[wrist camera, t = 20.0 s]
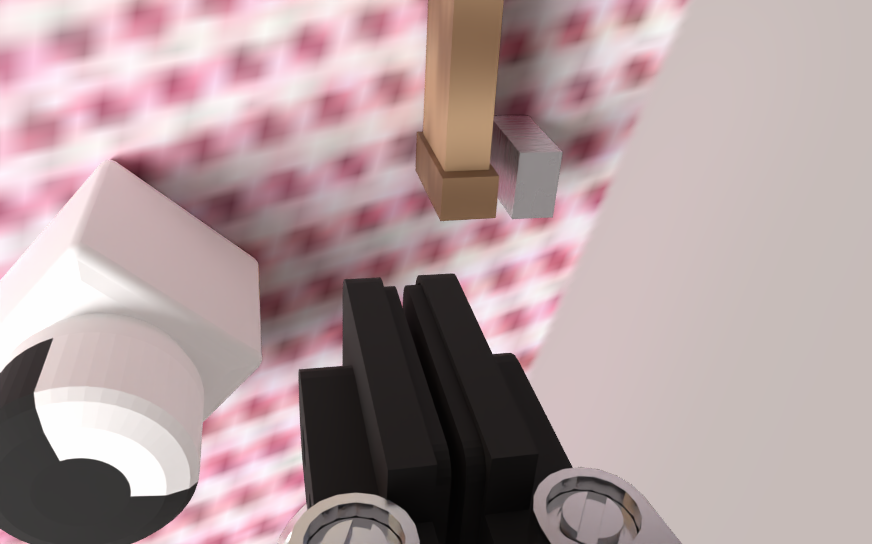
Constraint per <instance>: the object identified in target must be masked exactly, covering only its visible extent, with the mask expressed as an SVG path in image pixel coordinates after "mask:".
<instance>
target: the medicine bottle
mask: <svg viewBox="0 0 872 544" xmlns="http://www.w3.org/2000/svg"><path fill="white" fill-rule="evenodd" d="M261 362H262V342H261V316H260V291H259V266H258V262H257V261H256V260H255V258H253V257H252V256H251V255H249V254H248V253H246V252H245V251H243V250H242V249H240V248H239V247H238V246H236V245H235V244H233V243H232V242H230V241H229V240H228V239H226V238H225V237H223V236H222V235H220V234H219V233H218V232H216V231H215V230H213V229H212V228H210V227H209V226H207V225H206V224H205V223H203V222H202V221H200V220H199V219H197V218H196V217H195V216H193V215H192V214H190V213H189V212H187V211H186V210H185V209H183V208H182V207H180V206H179V205H177V204H176V203H174V202H173V201H172V200H170V199H169V198H167V197H166V196H164V195H163V194H162V193H160V192H159V191H157V190H156V189H154V188H153V187H152V186H150V185H149V184H147V183H146V182H144V181H143V180H142V179H140V178H139V177H137V176H136V175H134V174H133V173H131V172H130V171H129V170H127V169H126V168H124V167H123V166H121V165H120V164H119V163H117V162H116V161H113V160H106V161H104V162H102V163H101V164H100V165H99V166H98V167H97V168H96V170H95V171H94V172H93V173H92V174H91V175H90V177H89V178H88V179H87V180H86V181H85V182H84V184H83V185H82V186H81V187H80V188H79V189H78V191H77V192H76V193H75V194H74V195H73V196H72V198H71V199H70V200H69V201H68V202H67V203H66V205H65V206H64V207H63V208H62V209H61V210H60V212H59V213H58V214H57V215H56V216H55V217H54V219H53V220H52V221H51V222H50V223H49V224H48V225H47V227H46V228H45V229H44V230H43V231H42V232H41V234H40V235H39V236H38V237H37V238H36V239H35V241H34V242H33V243H32V244H31V245H30V246H29V248H28V249H27V250H26V251H25V252H24V253H23V255H22V256H21V257H20V258H19V259H18V260H17V262H16V263H15V264H14V265H13V266H12V267H11V269H10V270H9V271H8V272H7V273H6V274H5V276H4V277H3V278H2V279H1V280H0V529H2V530H3V531H5V532H6V533H8V534H9V535H11V536H13V537H15V538H17V539H19V540H21V541H24V542H27V543H30V544H132V543H134V542H137V541H139V540H141V539H143V538H146V537H147V536H149V535H151V534H153V533H154V532H156V531H158V530H159V529H161V528H163V527H164V526H165V525H167V524H168V523H169V522H171V521H172V520H173V519H174V518H175V517H176V516H178V515H179V514H180V513H181V512H182V511H183V509H184V508H185V507H186V505H187V504H188V503H189V501H190V500H191V498H192V496H193V494H194V492H195V489H196V486H197V483H198V479H199V472H200V457H201V441H202V425H203V422H204V421H205V420H206V419H207V418H208V417H209V416H210V415H211V414H212V413H213V412H214V411H215V410H216V409H217V408H218V407H219V406H220V405H221V404H222V403H223V402H224V401H225V400H226V399H227V398H228V397H229V396H230V395H231V394H232V393H233V392H234V391H235V390H236V389H237V388H238V387H239V386H240V385H241V384H242V383H243V382H244V381H245V380H246V379H247V378H248V377H249V376H250V375H251V374H252V373H253V372H254V371H255V370H256V369H257V368H258V367H259V365H260V364H261Z"/></svg>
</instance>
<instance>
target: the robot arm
mask: <svg viewBox="0 0 872 544" xmlns="http://www.w3.org/2000/svg"><path fill="white" fill-rule="evenodd" d="M299 406H300V429H301V446H302V460H303V471H304V482H305V492H306V504H305V505H304V506H303V507H302V508H301V509H300V510H299V511H298V512H297V513H296V514H295V516H294V517H293V518H292V519H291V520H290V521H289V523H288V524H287V526H286V527H285V529H284V531H283V532H282V534H281V535H280V537H279V540H278V543H277V544H682V543H681V542H680V541H679V539H678V538H677V537H676V536H675V534H674V533H673V532H672V531H671V529H670V528H669V527H668V526H667V525H666V523H665V522H664V521H663V519H662V518H661V517H660V516H659V515H658V513H657V512H656V511H655V509H654V508H653V507H652V506H651V504H650V503H649V502H648V500H647V499H646V498H645V497H644V496H643V495H642V494H641V493H640V492H639V491H638V490H637V489H636V488H635V487H634V486H633V485H632V484H630V483H628V482H626V481H625V480H623V479H621V478H620V477H618V476H617V475H613V474H611V473H607V472H605V471H602V470H599V469H592V468H583V467H578V468H572V465H571V463H570V462H569V460H568V458H567V456H566V454H565V452H564V450H563V448H562V446H561V444H560V442H559V440H558V438H557V436H556V434H555V432H554V430H553V428H552V426H551V424H550V422H549V420H548V418H547V416H546V414H545V412H544V410H543V408H542V406H541V404H540V402H539V401H538V398H537V396H536V394H535V392H534V390H533V389H532V387H531V385H530V383H529V381H528V379H527V377H526V375H525V373H524V371H523V369H522V367H521V365H520V363H519V361H518V359H517V358H516V357H515V355H514V354H512V353H502V354H492V352H491V350H490V348H489V346H488V343H487V341H486V339H485V337H484V335H483V333H482V331H481V328H480V326H479V324H478V322H477V320H476V318H475V316H474V313H473V311H472V309H471V307H470V305H469V303H468V300H467V298H466V296H465V294H464V292H463V290H462V288H461V285H460V283H459V281H458V279H457V277H456V275H455V274H436V275H418V277H417V280H416V285H407V286H405V287H404V293H403V308H402V305H401V302H400V299H399V296H398V293H397V289H396V287H395V286H389V287H384V286H383V282H382V280H381V278H363V279H345V280H344V282H343V366H337V367H324V368H312V369H299Z"/></svg>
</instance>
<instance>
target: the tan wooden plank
mask: <svg viewBox="0 0 872 544" xmlns="http://www.w3.org/2000/svg"><path fill="white" fill-rule="evenodd" d="M503 3H504V0H428V20H427V45H426V70H425V95H424V120H423V132H417V144H416V172H417V174H418V176H419V178H420V180H421V182H422V184H423V186H424V188H425V190H426V192H427V194H428V197H429V199H430V201H431V203H432V205H433V207H434V209H435V211H436V213H437V215H438V217H439V219H440V221H449V220H468V219H486V218H496V207H497V196H498V186H499V175H498V173H497V172H496V171H495V169H494V168H493V166H492V165H491V164H490V154H491V142H492V131H493V119H494V107H495V96H496V84H497V73H498V61H499V50H500V38H501V26H502V15H503Z"/></svg>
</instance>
